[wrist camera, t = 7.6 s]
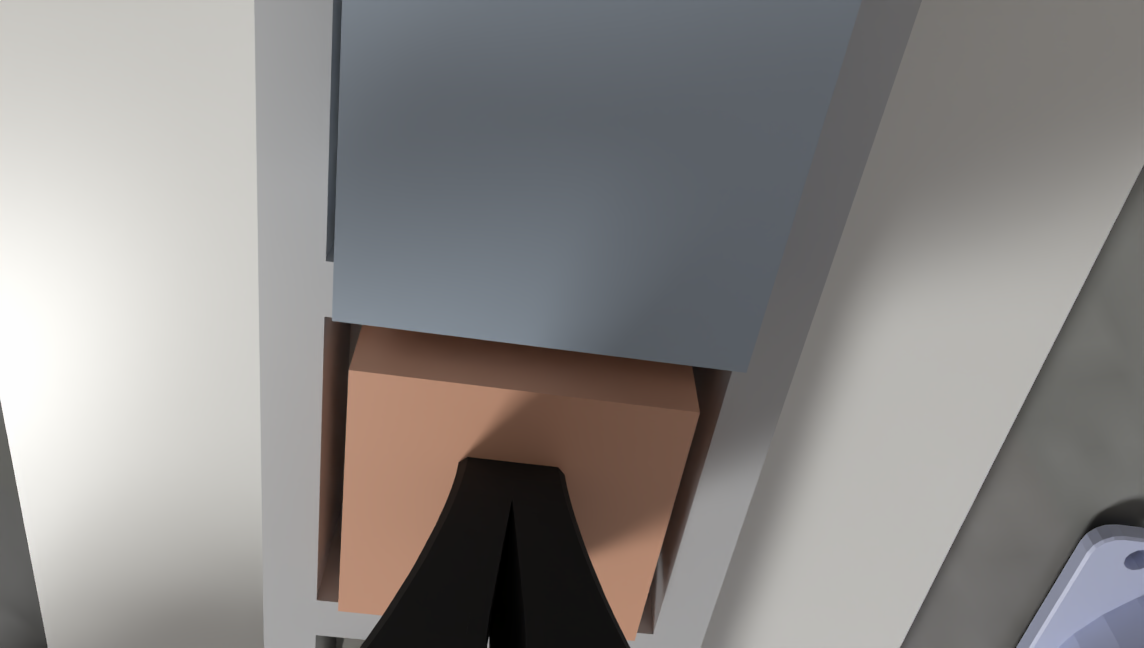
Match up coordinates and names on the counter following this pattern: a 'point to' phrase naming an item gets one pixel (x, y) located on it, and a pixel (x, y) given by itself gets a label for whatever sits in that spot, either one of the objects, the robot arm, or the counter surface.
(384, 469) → the key terracotta
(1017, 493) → the counter surface
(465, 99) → the key slate
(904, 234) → the keypad
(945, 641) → the counter surface
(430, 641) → the robot arm
